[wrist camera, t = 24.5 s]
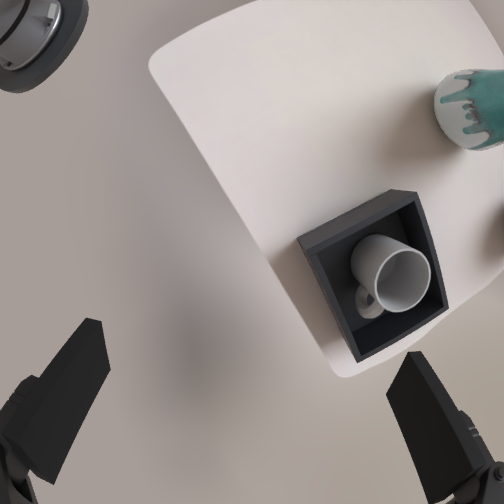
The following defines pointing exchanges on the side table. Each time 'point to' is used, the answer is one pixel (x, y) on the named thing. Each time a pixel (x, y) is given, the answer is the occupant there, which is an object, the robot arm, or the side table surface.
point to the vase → (472, 108)
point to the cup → (388, 275)
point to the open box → (345, 284)
